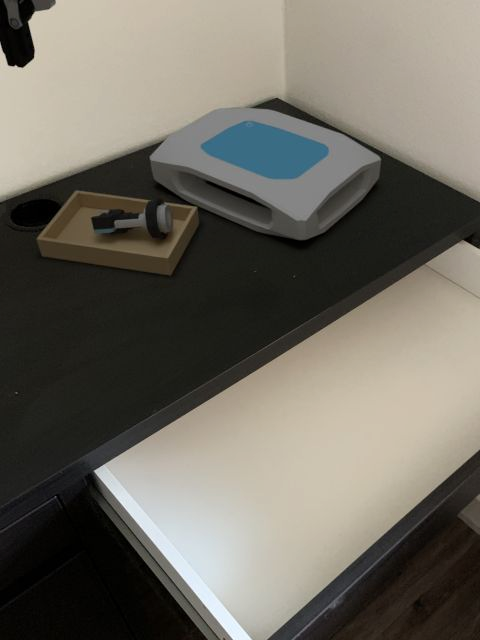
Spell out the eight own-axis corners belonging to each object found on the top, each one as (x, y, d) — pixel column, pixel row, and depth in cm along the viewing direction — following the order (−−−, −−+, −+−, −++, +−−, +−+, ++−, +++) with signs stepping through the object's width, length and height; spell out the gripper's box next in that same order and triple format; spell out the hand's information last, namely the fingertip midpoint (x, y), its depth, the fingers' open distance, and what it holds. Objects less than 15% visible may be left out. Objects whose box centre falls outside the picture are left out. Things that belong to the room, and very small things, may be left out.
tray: (41, 256, 89) (35, 238, 87) (80, 207, 97) (75, 190, 95) (170, 275, 87) (168, 258, 85) (199, 223, 95) (197, 206, 92)
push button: (104, 196, 93) (173, 191, 91) (113, 234, 95) (180, 230, 94) (86, 207, 87) (159, 202, 86) (95, 247, 89) (167, 243, 88)
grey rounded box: (302, 252, 90) (303, 212, 86) (151, 187, 101) (144, 148, 96) (380, 185, 102) (384, 147, 97) (237, 133, 112) (235, 96, 108)
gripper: (62, -150, 61) (99, 57, 75) (-86, -165, 63) (-24, 41, 77) (24, -134, 57) (71, 85, 70) (-136, -150, 58) (-59, 67, 72)
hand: (21, 61), depth 73 cm, fingers closed
